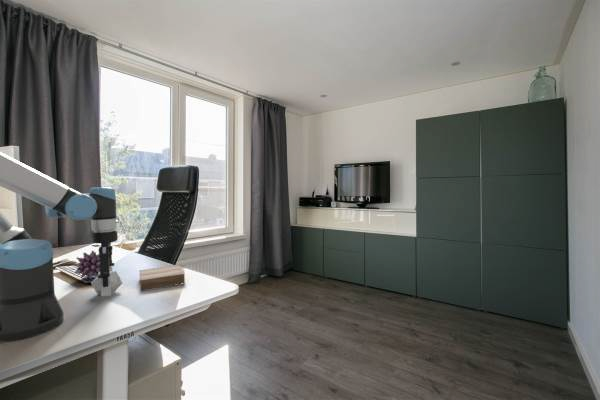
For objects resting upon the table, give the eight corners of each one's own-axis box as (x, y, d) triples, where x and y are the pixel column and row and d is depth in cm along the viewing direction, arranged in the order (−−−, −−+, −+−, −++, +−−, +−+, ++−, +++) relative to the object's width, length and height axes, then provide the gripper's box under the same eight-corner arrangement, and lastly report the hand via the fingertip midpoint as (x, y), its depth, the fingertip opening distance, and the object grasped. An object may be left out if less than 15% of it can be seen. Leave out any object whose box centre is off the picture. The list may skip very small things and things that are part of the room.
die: (99, 301, 101) (118, 276, 103) (80, 288, 102) (100, 263, 105) (113, 301, 109) (131, 278, 111) (95, 288, 110) (113, 266, 113)
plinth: (184, 283, 116) (184, 273, 116) (140, 291, 109) (140, 280, 109) (179, 274, 129) (178, 265, 129) (139, 279, 122) (139, 270, 122)
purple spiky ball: (108, 282, 125) (73, 283, 116) (100, 275, 133) (67, 275, 124) (114, 254, 125) (79, 253, 117) (106, 249, 134) (73, 248, 125)
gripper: (115, 234, 97) (118, 298, 98) (118, 225, 118) (120, 278, 120) (87, 236, 93) (90, 303, 94) (95, 227, 115) (98, 281, 116)
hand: (107, 289), depth 107 cm, fingers open, 13 cm apart
